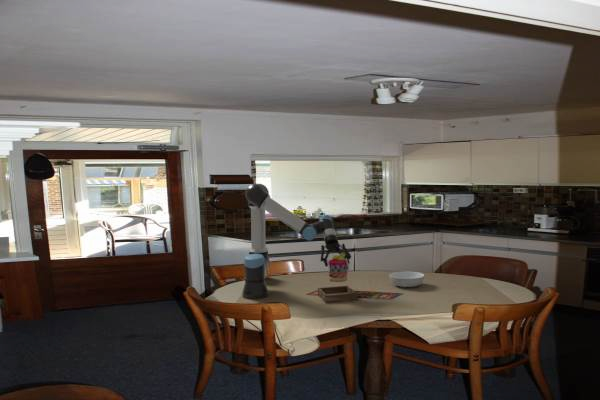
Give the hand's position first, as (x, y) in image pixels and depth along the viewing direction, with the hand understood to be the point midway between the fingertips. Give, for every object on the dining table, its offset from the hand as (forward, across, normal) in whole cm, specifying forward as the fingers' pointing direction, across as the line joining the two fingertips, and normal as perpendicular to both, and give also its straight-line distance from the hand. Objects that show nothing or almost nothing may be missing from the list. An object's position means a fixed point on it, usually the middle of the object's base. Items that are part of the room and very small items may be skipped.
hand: (338, 269), depth 257 cm
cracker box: (-32, +36, -56) cm, 74 cm away
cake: (+3, 0, -6) cm, 7 cm away
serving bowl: (+1, -47, -23) cm, 53 cm away
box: (+9, +1, -14) cm, 17 cm away
